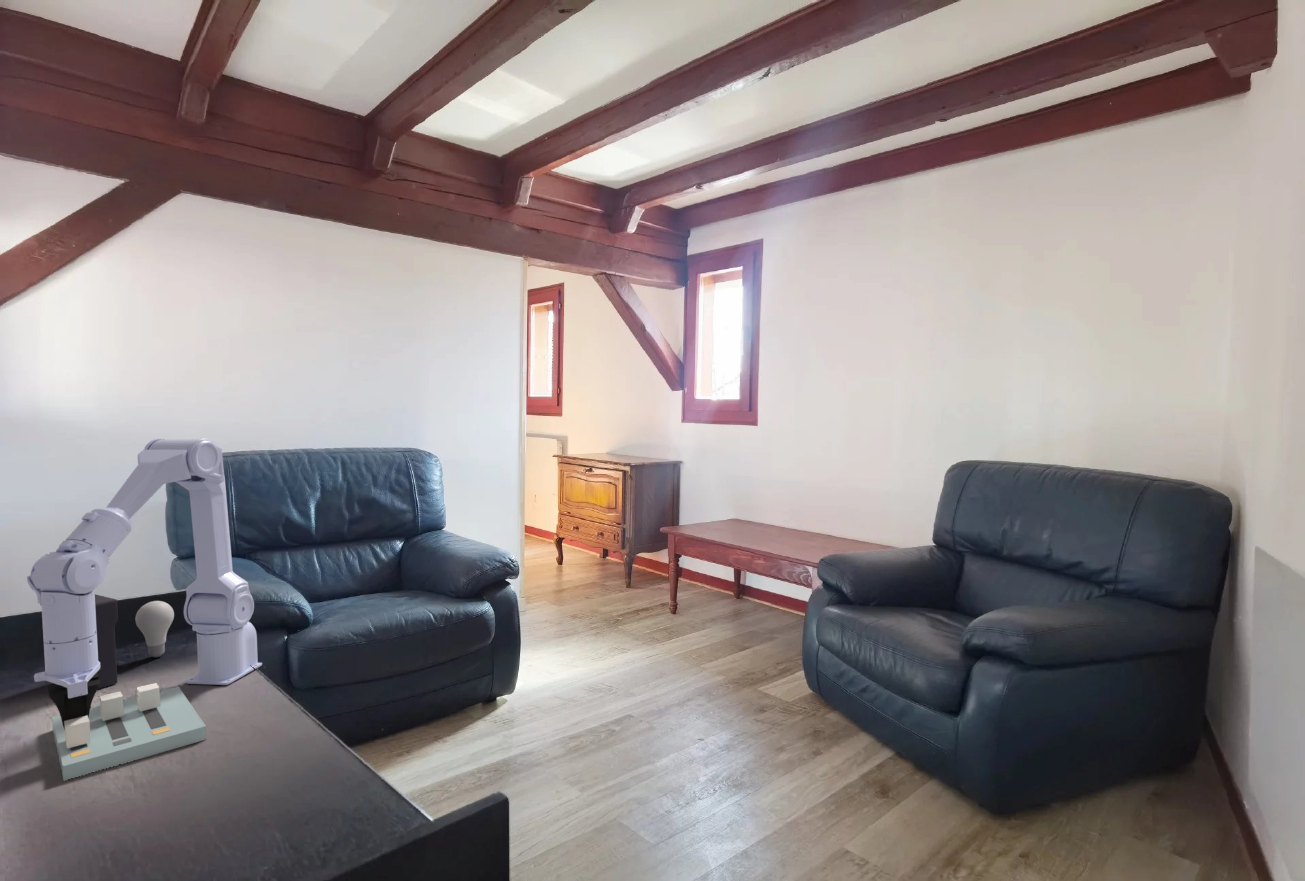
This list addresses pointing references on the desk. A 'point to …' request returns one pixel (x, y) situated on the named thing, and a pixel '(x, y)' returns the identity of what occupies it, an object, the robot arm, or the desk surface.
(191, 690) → the desk surface
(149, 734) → the switch board
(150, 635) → the lightbulb
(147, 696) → the tab
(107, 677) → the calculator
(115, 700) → the tab
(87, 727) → the tab
